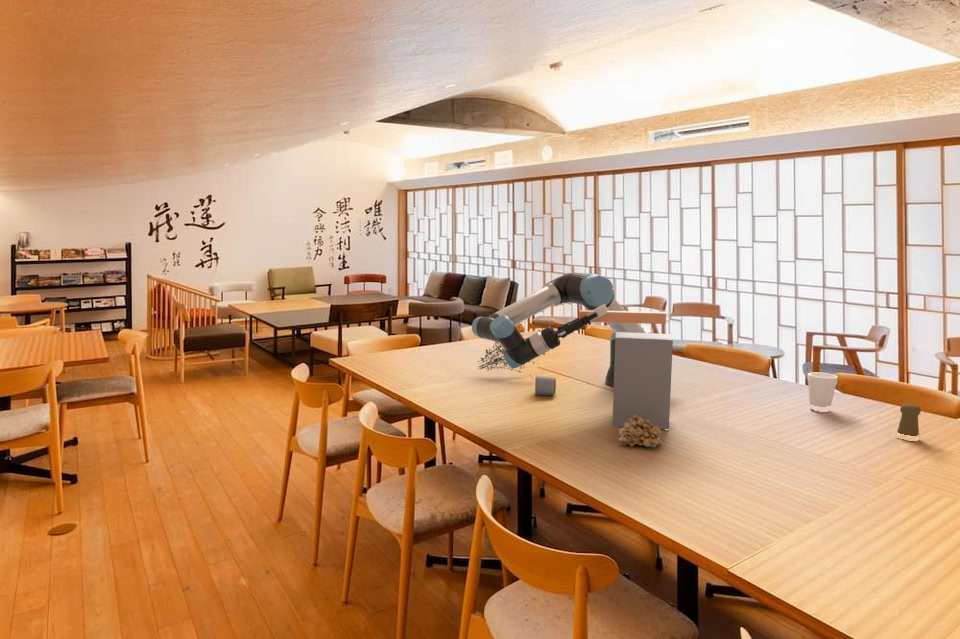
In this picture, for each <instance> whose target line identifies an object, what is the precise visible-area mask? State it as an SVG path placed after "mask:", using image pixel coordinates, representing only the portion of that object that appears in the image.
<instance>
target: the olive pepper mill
mask: <svg viewBox="0 0 960 639" xmlns="http://www.w3.org/2000/svg"><path fill="white" fill-rule="evenodd" d="M899 408H900V410H899V411H900V413H901V417H900V420H899V424H898V427H897V431H896V433H897V432H898V433H900V434H904V435H910V436H917V435H919V436H920V432H919V431H920V430H919V415H920V414H921V411H922V410H921V406H919V405H917V404H914V403H903V404H902V405H900V407H899Z"/></svg>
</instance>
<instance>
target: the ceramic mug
mask: <svg viewBox="0 0 960 639" xmlns="http://www.w3.org/2000/svg"><path fill="white" fill-rule="evenodd" d="M534 382H535V383H534V395H535V396H554V395H556V391H557V390H556V389H557V378H556V377H552V376H545V375H544V376H543V375H536V376H535V380H534Z"/></svg>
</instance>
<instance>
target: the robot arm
mask: <svg viewBox="0 0 960 639" xmlns="http://www.w3.org/2000/svg"><path fill="white" fill-rule="evenodd" d="M613 288H614V286H613V282H612V281H611V280H610V278H608V277H606V276H605V275H602V274H599V273H587V272H586V273H584V272H583V273H582V272H569V273H566V274H563V275H561V276H559V277H557V278H553V279H552V280H551V281H550V280H549V282H547V283H545V284H544V285H543V287H542V288H540V289H539V290H537V291H534V292H533V293H531V294H529V295H527V296H525V297H523V298H521V299H519V300H517V301H515V302H513V303H511V304H510V305H507V306H506V307H504V308H501V309H500V310H497V311H496V312H494V313H491V314H489V315H488V316H478V317H475V319H474V320H473V321H472V323H471V330H472V333H473V334H474V336H475V337H477V338H478V337H479V338H480V339H484V340H488V341H492V342H498V343H499V344H500V343H501V346H503V347H504V348H505V350H504V349H503V351H504V352H503V353H502V354H503V355H502V356H503V359H504V362H507V364H506V365H507V366H508V367H509V368H510V369H512V368H513V369H517V368H520V367H522V366H525V365H526V364H527V363H530V362H531V361H532V360H534V359H536V358H538V357H539V356H546V353H548V352H550V350H554V349H556V348H558V347H560V345H561V340H560V338H562V339H564V338H566V337H567V336H569V335H571V334H572V333H574V332H575V331H577V330H579V329H581V328H582V327H584V326H587V325H589V326H590V325H591V324H592V322H591V321H593V320H595V319H597V318H599V317H601V316H603V315H605V314H606V313H608V311H627V310H626V309H625V308H624V307H623V306H622V305H621V304H620V303H619V302H618V301H617V300H616V299H615V291H614V289H613ZM567 303H568V304H569V303H570V304H577V305H582V306H583V307H584V308H585V310H594V311H593V312H591V313H589V314H587V316H588V317H587V316H584V317H583V318H581V319H579V316H578V317H576V318H574V319H573V320H571V321H567V322H566V323H564V324H561V325H559V326H558V327H556V328H557V329H556V330H555V329H554V328H553V326H550V325H549V326H547V327H545V328H543V330H541V331H540V332H538V331H537V332H535V333H534V334H532V335H530V336H529V337H527V338H524V337H523V335H522V334H521V332H520V331H519V329H518V327H516V325H519V323H520V324H521V323H522V322H524V321H525V320H527V319H529V318H531V317H533V316H536V315H537V314H539V313H540V312H543V311H545V310H546V309H548V308H550V307H552V306H553V307H557V306H560V305H562V304H567ZM605 323H606V324H607V325H608V326H609V327H610V328H611V330H613V331H612V333H611V335H610V341H609V342H610V343H609V344H610V350H609V353H610V354H609V355H610V357H609V360H610V361H609V367H608V370H607V373H606V376H605V379H604V380H605V381H604V382H605V384H606V385H608V386H611V387H614V363H615V336H616V332H629V333H653V332H652V331H651V330H650V329H648V328H643V327H642V326H641V324H640V323H609V322H605ZM519 366H520V367H519Z"/></svg>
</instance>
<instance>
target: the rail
mask: <svg viewBox="0 0 960 639" xmlns="http://www.w3.org/2000/svg"><path fill="white" fill-rule="evenodd" d="M593 311H594V310H587V309H580V310H579V312H578V314H579V315H578V317H579V319H581V318H583V317H584V316H587V314H589V313H591V312H593ZM587 317H588V316H587ZM606 322H609V323H638V324H647V325H649V324H652V325H666V324H667V312H665V311H643V310H642V311H639V310H638V311H636V310H633V311H631V310H626V311H608V313H606V314H605V315H603V316H601V317H599V318H597V319H595V320H593V321H591V322H590V323H606Z"/></svg>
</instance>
